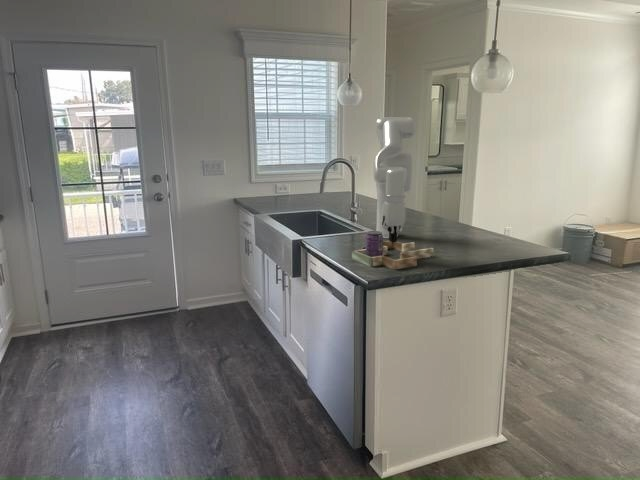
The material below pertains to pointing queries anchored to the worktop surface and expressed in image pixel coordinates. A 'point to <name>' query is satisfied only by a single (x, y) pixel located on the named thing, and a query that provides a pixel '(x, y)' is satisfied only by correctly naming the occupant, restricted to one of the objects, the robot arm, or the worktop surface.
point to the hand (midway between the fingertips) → (392, 241)
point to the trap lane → (405, 259)
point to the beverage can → (374, 243)
